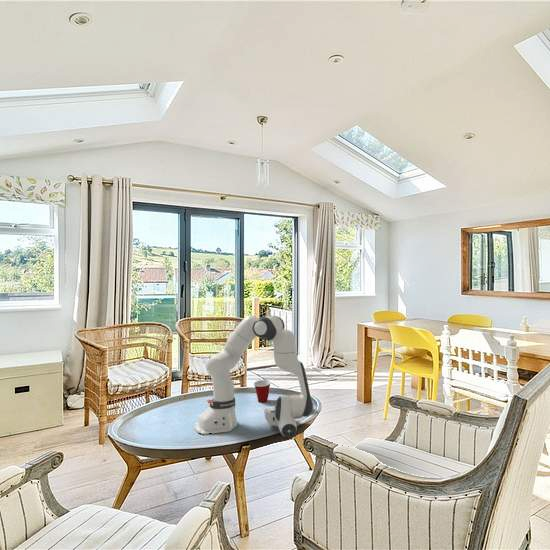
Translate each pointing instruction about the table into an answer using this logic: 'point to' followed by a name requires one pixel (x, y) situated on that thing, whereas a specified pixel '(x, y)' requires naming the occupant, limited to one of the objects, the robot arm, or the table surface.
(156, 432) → the table surface
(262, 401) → the plastic cup
